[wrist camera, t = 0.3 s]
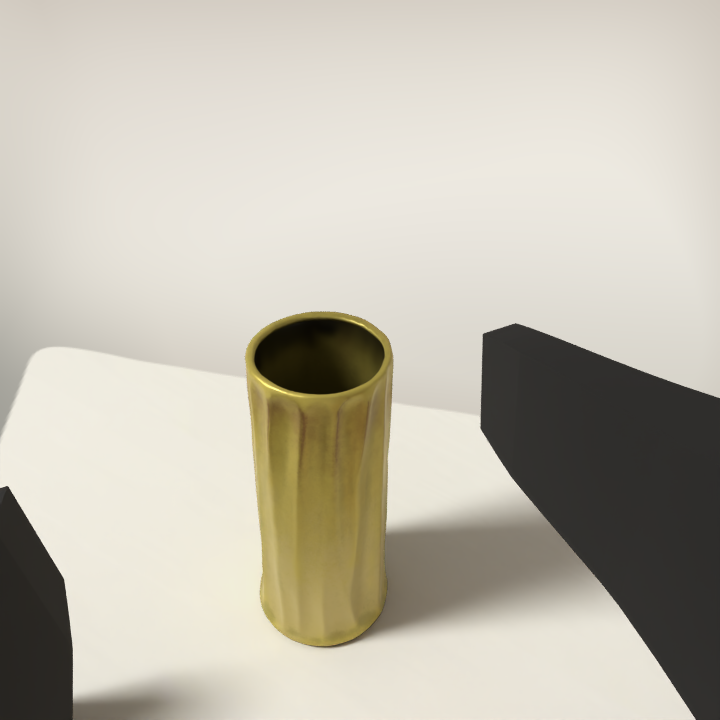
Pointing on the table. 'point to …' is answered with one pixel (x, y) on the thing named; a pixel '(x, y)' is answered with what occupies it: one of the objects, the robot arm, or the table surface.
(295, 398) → the vase
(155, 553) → the table surface
